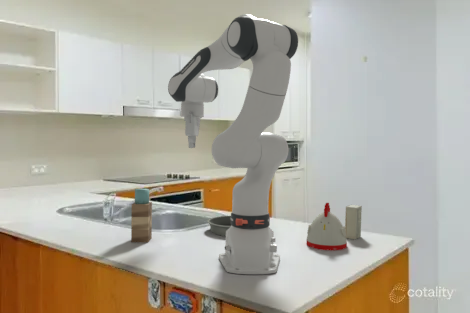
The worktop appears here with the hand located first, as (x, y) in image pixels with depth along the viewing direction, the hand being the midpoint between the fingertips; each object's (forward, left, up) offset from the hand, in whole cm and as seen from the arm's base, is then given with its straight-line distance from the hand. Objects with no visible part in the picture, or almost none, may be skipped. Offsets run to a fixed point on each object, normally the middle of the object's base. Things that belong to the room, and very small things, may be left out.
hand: (192, 147), depth 159 cm
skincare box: (-5, -63, -34) cm, 71 cm away
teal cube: (-13, +16, -20) cm, 29 cm away
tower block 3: (-13, +17, -34) cm, 40 cm away
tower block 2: (-13, +17, -29) cm, 36 cm away
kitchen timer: (-17, -50, -34) cm, 62 cm away
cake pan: (+4, -18, -34) cm, 39 cm away
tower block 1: (-13, +17, -24) cm, 32 cm away
